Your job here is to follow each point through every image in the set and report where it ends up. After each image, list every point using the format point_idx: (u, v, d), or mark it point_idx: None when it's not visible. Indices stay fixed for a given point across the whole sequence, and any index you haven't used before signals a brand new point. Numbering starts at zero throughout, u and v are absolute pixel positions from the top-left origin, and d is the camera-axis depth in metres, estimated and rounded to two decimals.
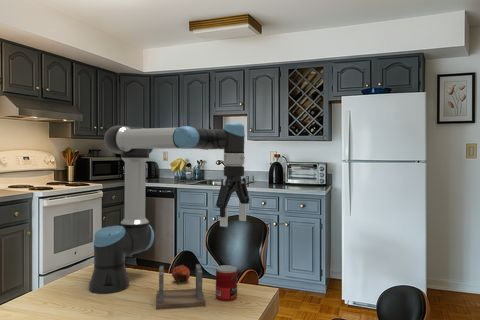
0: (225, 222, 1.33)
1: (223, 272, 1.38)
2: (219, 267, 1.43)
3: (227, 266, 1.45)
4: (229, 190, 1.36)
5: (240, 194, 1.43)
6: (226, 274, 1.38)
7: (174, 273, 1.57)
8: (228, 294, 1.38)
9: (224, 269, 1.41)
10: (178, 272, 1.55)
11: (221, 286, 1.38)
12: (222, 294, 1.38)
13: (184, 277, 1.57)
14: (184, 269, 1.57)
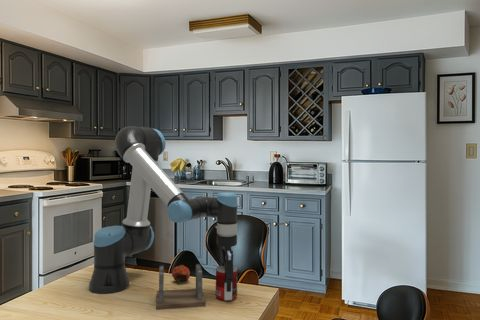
0: None
1: (223, 272, 1.38)
2: (219, 267, 1.43)
3: None
4: None
5: None
6: None
7: (174, 273, 1.56)
8: None
9: (224, 269, 1.41)
10: (178, 272, 1.55)
11: (221, 286, 1.38)
12: (222, 294, 1.38)
13: (184, 277, 1.57)
14: (184, 269, 1.56)
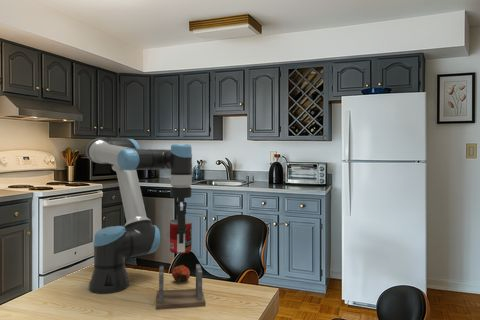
0: None
1: (176, 223, 1.35)
2: (173, 220, 1.40)
3: None
4: None
5: None
6: None
7: (174, 273, 1.57)
8: None
9: None
10: (178, 272, 1.55)
11: (174, 238, 1.35)
12: (175, 246, 1.35)
13: (184, 277, 1.57)
14: (184, 269, 1.57)
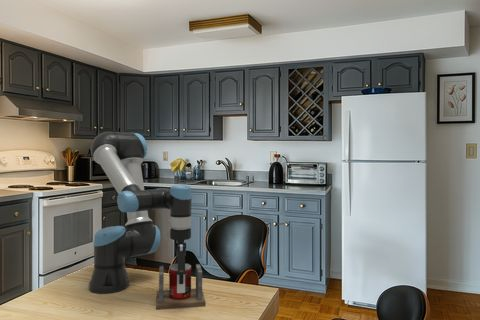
0: None
1: (175, 270, 1.35)
2: (173, 265, 1.40)
3: None
4: None
5: None
6: None
7: None
8: (180, 293, 1.35)
9: (177, 267, 1.38)
10: None
11: (174, 285, 1.35)
12: (175, 293, 1.35)
13: None
14: None
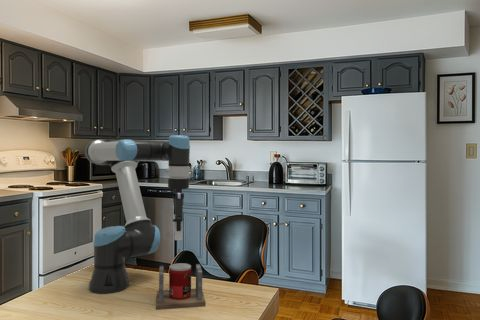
0: None
1: (175, 270, 1.35)
2: (173, 265, 1.40)
3: (182, 264, 1.41)
4: None
5: None
6: (179, 272, 1.35)
7: None
8: (180, 293, 1.35)
9: (177, 267, 1.38)
10: None
11: (174, 285, 1.35)
12: (175, 293, 1.35)
13: None
14: None
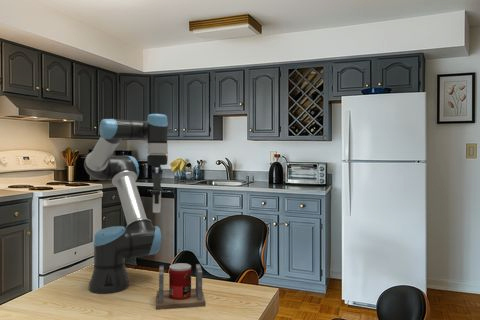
0: None
1: (175, 270, 1.35)
2: (173, 265, 1.40)
3: (182, 264, 1.41)
4: None
5: None
6: (179, 273, 1.35)
7: None
8: (180, 293, 1.35)
9: (177, 267, 1.38)
10: None
11: (174, 285, 1.35)
12: (175, 293, 1.35)
13: None
14: None
